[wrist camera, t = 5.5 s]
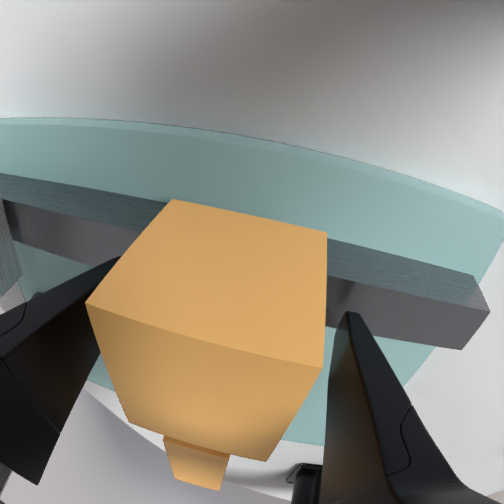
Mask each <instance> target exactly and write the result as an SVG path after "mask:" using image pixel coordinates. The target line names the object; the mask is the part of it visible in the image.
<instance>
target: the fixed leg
mask: <svg viewBox="0 0 504 504" xmlns="http://www.w3.org/2000/svg"><path fill="white" fill-rule="evenodd" d="M22 275H23V271H22V268H21V265H20V262H19V259H18V256H17V253H16V249H15V246H14V243H13V240H12V236H11V233H10V229H9V225H8V222H7V218H6V214H5V210H4V206H3V201H2V197H1V192H0V298H1V297H2V296H3V295H4V294H5V293H6V292H7V290H8V289H9V288H10V287H11V286H12V285H13V284H14V283H15V282H16V281H17V280H18V279H19V278H20V277H21V276H22Z"/></svg>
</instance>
